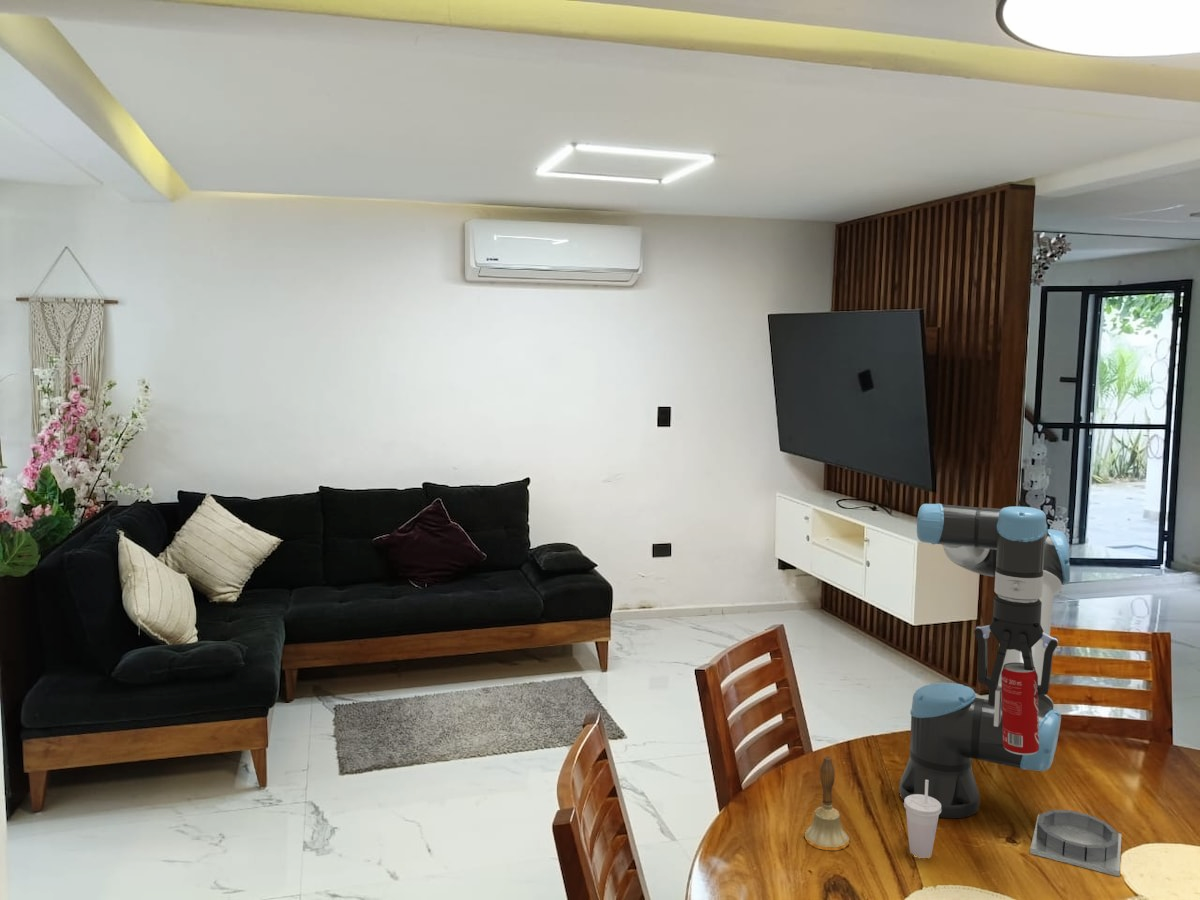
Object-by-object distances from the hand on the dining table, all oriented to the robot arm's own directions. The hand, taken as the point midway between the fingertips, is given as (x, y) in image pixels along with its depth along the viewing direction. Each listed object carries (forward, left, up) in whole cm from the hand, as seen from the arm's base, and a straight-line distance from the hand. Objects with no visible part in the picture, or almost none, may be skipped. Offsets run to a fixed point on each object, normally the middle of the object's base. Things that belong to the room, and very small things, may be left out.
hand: (1010, 726), depth 159 cm
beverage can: (+1, 0, -4) cm, 4 cm away
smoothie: (-13, -6, -25) cm, 29 cm away
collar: (+11, +11, -25) cm, 29 cm away
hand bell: (-29, -10, -25) cm, 40 cm away
